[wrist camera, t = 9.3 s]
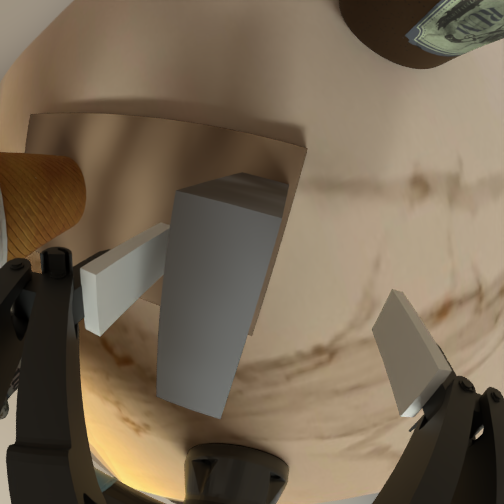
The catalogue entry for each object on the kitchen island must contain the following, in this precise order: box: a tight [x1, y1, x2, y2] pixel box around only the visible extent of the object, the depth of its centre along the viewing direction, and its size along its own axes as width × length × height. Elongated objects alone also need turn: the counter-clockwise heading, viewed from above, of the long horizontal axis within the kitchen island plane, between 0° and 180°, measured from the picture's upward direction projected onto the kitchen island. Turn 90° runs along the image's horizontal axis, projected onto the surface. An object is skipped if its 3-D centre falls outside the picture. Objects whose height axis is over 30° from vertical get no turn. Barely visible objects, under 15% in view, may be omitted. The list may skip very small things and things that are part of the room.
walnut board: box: [25, 113, 308, 419], centre depth 15 cm, size 26×14×11 cm, turn 76°
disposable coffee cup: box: [0, 152, 86, 268], centre depth 14 cm, size 10×10×12 cm
